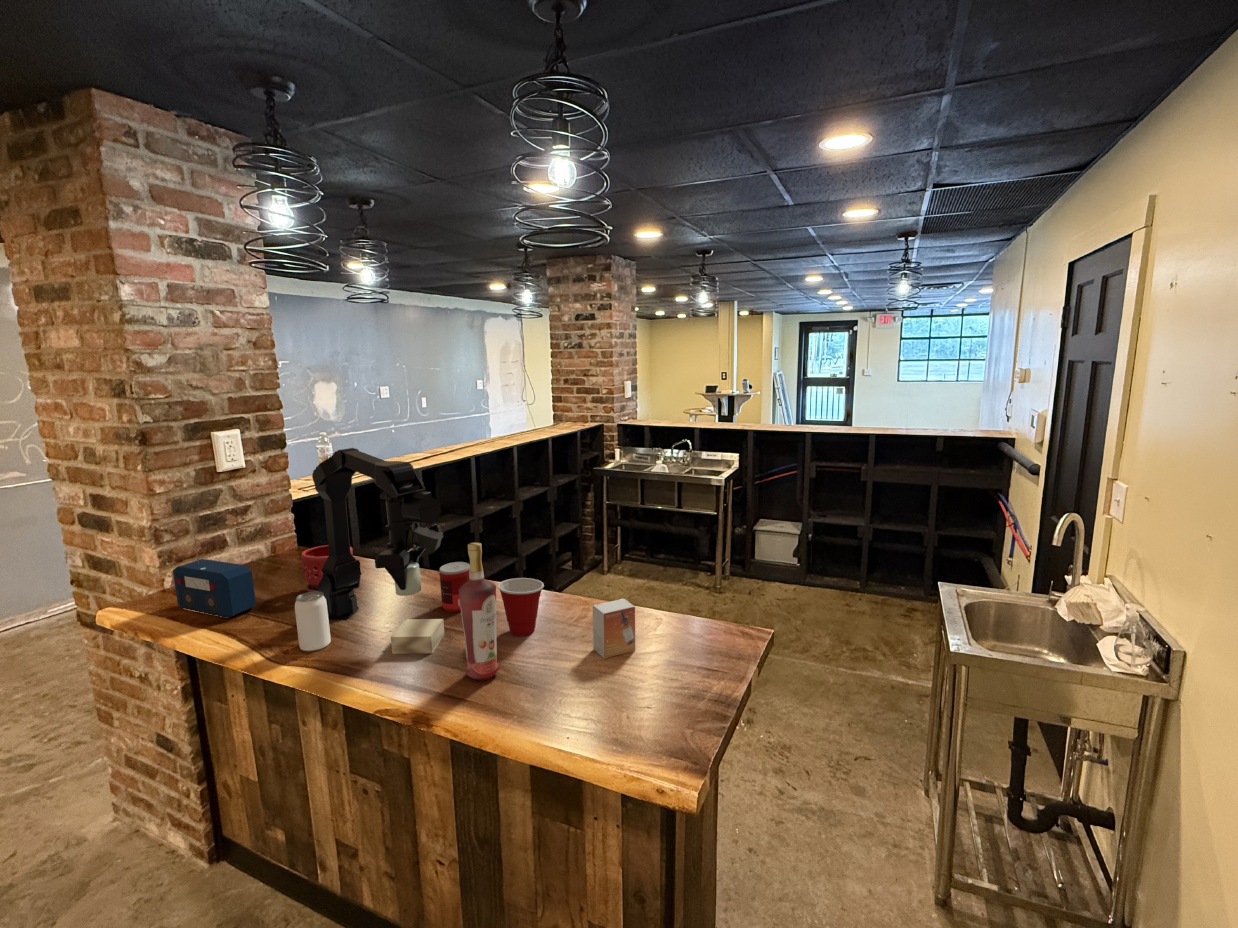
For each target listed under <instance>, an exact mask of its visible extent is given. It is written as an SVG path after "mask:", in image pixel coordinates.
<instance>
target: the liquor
mask: <svg viewBox="0 0 1238 928" xmlns="http://www.w3.org/2000/svg"><path fill="white" fill-rule="evenodd" d="M482 545H483V544H482V543H481V542H470V543H468V544H467V553H468V557H469V565H470V575H469V582H467V583H465V584H464V585H463V586H461V587H460V588H459V598H460V607H461V611H460V614H461V615H460V616H461V621H462V628H463V636H464V645H465V654H466V655H465V657H466V664H467V666H466V668H465V675H466V676H468V677H469V678H471V679H473V680H475V681H486V680H489V679H491V678H493V677H494V675H496V674H497V672H498V671H499V670H500V668H501V667H500V664H499V663H498V657H497V656H498V655H497V654H498V652H497V650H498V649H497V648H498V647H497V585H496V584H495V583H493V582H492V581H490V580H488V579H485V575H484V568H483V562H482V555H483V549H482Z"/></svg>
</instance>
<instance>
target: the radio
mask: <svg viewBox="0 0 1238 928" xmlns="http://www.w3.org/2000/svg"><path fill="white" fill-rule="evenodd" d="M193 539H194V546H195V551H196V559H197V560H194V561H191V562H188V563H184V564H181V565H178V566H177V567H175V568H173V569H172V576H173V583H174V587H175V595H176V602H177V605H178V607H180V608H181V609H182V608H186V609H190V610H195V611H199V612H204V613H208V614H212V615H218V616H222V617H230V618H232V617H231V616H233V617H235V616H237V615H239V614H238V613H240V614H242V613H244V612H246V610H247V611H249V610H251V609H253V608H254V607H256V606H257V601H256V595H255V586H254V579H253V578H254V577H253V571H252V569H250V568H249V567H248V566H246V564H239V563H233V562H225V561H220V560H212V559H207V558H201V559H200V558H199V553H198V546H197V540H196V536H195V535H193ZM250 608H251V609H250ZM248 609H249V610H248ZM243 611H244V612H243ZM241 612H242V613H241ZM236 614H237V615H236ZM234 615H235V616H234Z"/></svg>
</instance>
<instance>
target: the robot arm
mask: <svg viewBox="0 0 1238 928" xmlns="http://www.w3.org/2000/svg"><path fill="white" fill-rule="evenodd" d="M312 471H313V472H312V476H311V477H312V481H313V484H314V488H315V492H317V493H318V494H319V496H320V497H321V498H322V499H323V505H324V515H325V516H324V517H325V527H326V539H327V545H328V549H329V556H328V558H327V560H326V562H325V564H324V566H323V577H322V579H321V581H320V582H319V584H318V585H317V587H316V588H317V591H318V592H322V593H323V594H324V595H323V596H324V597H325V599H326V602H327V610H328V619H329V620H345V619H346V620H347V619H350V618H351V617H352V615H354V614H355V613H356V612H357V611H358V610H359V609H360V607H359V606H358V602H357V601H358V600H357V595H356V594H355V589H356V590H357V589H359V588H360V585H361V577H362V571H361V561H360V560H359V559H356V558H355V556H354V555H353V556H352V554H351V552H350V547H351V544H350V543H351V541H350V532H349V531H350V530H349V520H348V510H347V508H348V507H347V497H348V495H349V493H350V491H351V489H352V487H353V486H352V485H353V477H354V475H355V474H356V473H358V474H361V475H363V476H365V477H368V478H371V479H373V480H374V484H375V485H376V486H377V487H378V488H380V489H381V490H383V492H382V493H381V494H380V495H379V498H380V499H381V500H385V507H386V515H387V516H386V517H387V525H385V526H384V531H385V532H388V535H389V537H388V538H389V542H388V543H386V549H384V550H383V551H382V552H380V553H379V554H378V555H376V557H375V558H374V568H376V569H385V571H387V574H389V575H390V576H391V578H392V580H393V581H394V583H395V582H396V584H397V585H398V587H399V588H400V590H405V589H406V582H407V567H408V566H409V565H410V564H411V562H416V563H418V564H419V560H420V557H421V555H422V554H423V553H424V551H426V550H427V551H429V552H436V551H437V549H438V548H440V546H441V542H442V539H443V538H444V532H443V531H442V528H441V524H437V523H435V522H436V521H438V519H439V517H440V515H441V505H440V503H439V501H438V500H437V499H436V498H435V497H432V496H433V495H432V492H431V491H427V489H426V487H425V483H424V482H423V481H422V479H421V478H420V476H419V474H418V473H417V471H416V469H415V467H414V466H413V464H412V463H410V462H409V461H402V460H393V461H392V460H384V459H382V458H379V457H377V456H373V455H372V454H368V453H366V452H362V451H360V450H359V449H358V448H354V447H351V448H350V447H348V448H342V449H338V450H337V451H334V452H333V453H332V455H331V456H329V457H328V458H326V459H324V460H323V461H322V462H320V463H318V465H317V466H316V467H315V469H314V470H312ZM421 524H425V525H431V524H432V525H431V526H430V527H422V526H420V525H421Z"/></svg>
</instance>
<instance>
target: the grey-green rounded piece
mask: <svg viewBox="0 0 1238 928" xmlns="http://www.w3.org/2000/svg"><path fill="white" fill-rule="evenodd" d="M420 573H421V572H420V564H419V562H418V563H416V562H411V564H410V565H409V566H408V567H407V582H406V589H405V590H400V588H399V587H398V585H397V584H396V582H395V581H394V586H395V587H394V589H395V595H397V596H399V597H400V596H401V597H405V596H412V595H416V594H418V593H420V592H421V591H422V583H421V574H420Z"/></svg>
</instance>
